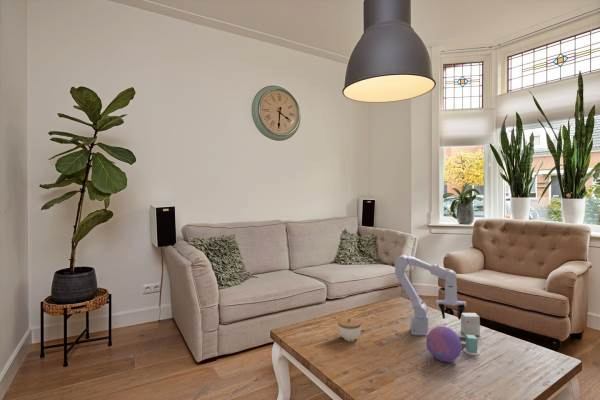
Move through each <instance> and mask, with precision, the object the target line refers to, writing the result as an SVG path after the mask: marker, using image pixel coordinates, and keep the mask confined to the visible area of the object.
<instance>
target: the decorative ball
mask: <svg viewBox="0 0 600 400" xmlns="http://www.w3.org/2000/svg"><path fill="white" fill-rule="evenodd" d="M458 335H459V334H457V333H456V332H455V331H454V330H453V329H451V328H449V327H446V326H436V327H434V328H432V329H431V330H429V333H428V335H427V336H426V340H425V341H426V342H425V343H426V348H427V351H429V353H430V355H432V357H434V358H435V359H436V360H438V361H441V362H446V363H448V362H450V363H451V362H453V361H455V360H457V358H459V357H460V355H461V352H462V348H463V347H462V345H461V341H460V338H459V337H458Z"/></svg>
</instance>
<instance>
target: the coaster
mask: <svg viewBox="0 0 600 400" xmlns="http://www.w3.org/2000/svg"><path fill="white" fill-rule="evenodd" d="M463 352H464V353H465V354H467V355H470V356H479V355H480V350H479V349H477V353H468V351H467V350H466V348H463Z"/></svg>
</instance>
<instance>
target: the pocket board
mask: <svg viewBox="0 0 600 400" xmlns="http://www.w3.org/2000/svg"><path fill="white" fill-rule="evenodd" d="M457 335H458V337H459V338H460V341H461V345H462V348H463V349H464V348H466V335H463V334H457Z"/></svg>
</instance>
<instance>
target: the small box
mask: <svg viewBox="0 0 600 400" xmlns="http://www.w3.org/2000/svg"><path fill="white" fill-rule="evenodd" d="M480 318H481V317H480V315H478V314H477V313H476V312H462V315H461V318H460V332H461V333H462V335H463V334H464V335H475V336H480V335H481V329H480V328H481V320H480Z"/></svg>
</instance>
